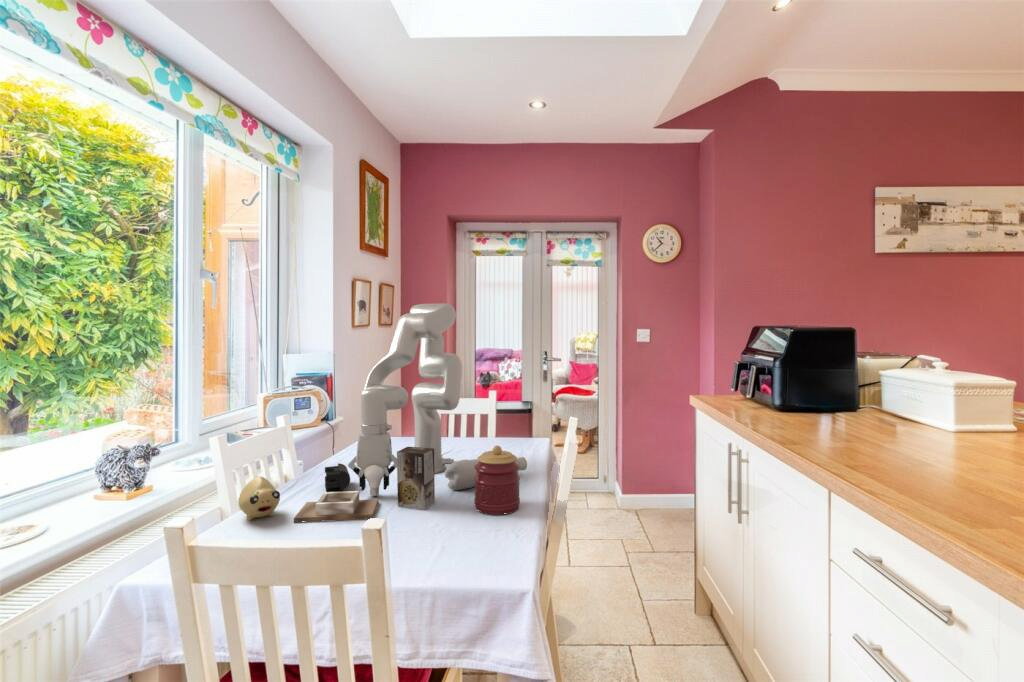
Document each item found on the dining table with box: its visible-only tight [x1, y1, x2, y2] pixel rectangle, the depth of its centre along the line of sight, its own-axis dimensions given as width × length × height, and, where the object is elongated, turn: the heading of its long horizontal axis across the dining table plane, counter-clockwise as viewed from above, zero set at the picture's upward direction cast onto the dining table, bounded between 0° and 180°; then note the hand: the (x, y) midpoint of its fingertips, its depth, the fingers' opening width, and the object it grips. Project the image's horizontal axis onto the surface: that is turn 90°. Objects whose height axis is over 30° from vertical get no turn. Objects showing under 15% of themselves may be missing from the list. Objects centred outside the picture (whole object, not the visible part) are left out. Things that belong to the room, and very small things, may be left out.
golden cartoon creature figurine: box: [238, 476, 281, 521], centre depth 131 cm, size 10×12×11 cm
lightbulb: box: [364, 465, 385, 498], centre depth 148 cm, size 6×6×11 cm
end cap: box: [324, 463, 351, 492], centre depth 156 cm, size 10×7×7 cm
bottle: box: [444, 456, 528, 492], centre depth 162 cm, size 9×9×30 cm
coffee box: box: [396, 446, 436, 511], centre depth 140 cm, size 9×6×16 cm
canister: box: [473, 445, 521, 515], centre depth 138 cm, size 13×13×18 cm
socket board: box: [293, 490, 380, 523], centre depth 135 cm, size 20×12×4 cm, turn 98°
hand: (374, 488), depth 148 cm, fingers closed on lightbulb, 5 cm apart
